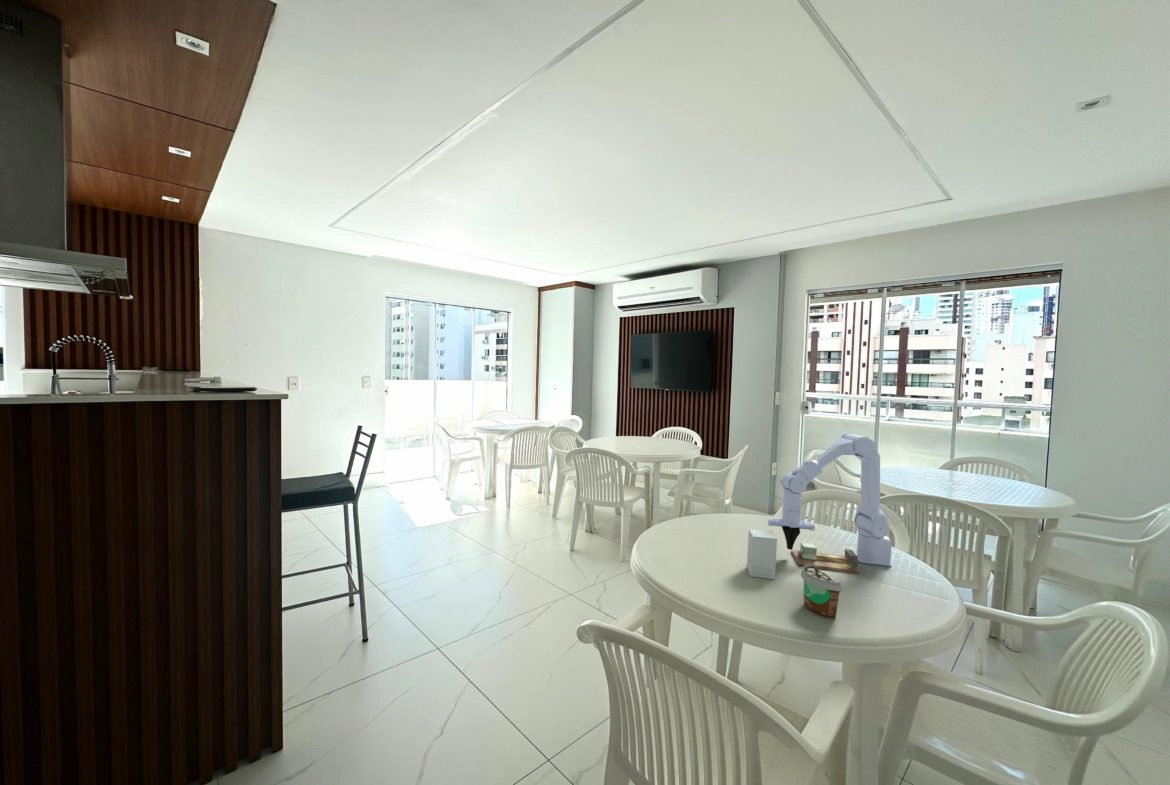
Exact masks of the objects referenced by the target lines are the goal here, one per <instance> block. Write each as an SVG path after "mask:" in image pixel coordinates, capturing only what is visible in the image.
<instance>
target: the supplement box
mask: <svg viewBox="0 0 1170 785" xmlns="http://www.w3.org/2000/svg"><path fill="white" fill-rule="evenodd" d="M747 539H748V540H747V558H746V560H747V561H746V569H747V571H748V573H749V576H750V577H753V578H754V577H755V578H762V579H770V580H775V578H776V567H777V552H778V551H777V547H778V538H777V536H776V535H775V534H774V531H772V530H771V531H770V530H761V529H751V528H750V529H748V537H747Z"/></svg>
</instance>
